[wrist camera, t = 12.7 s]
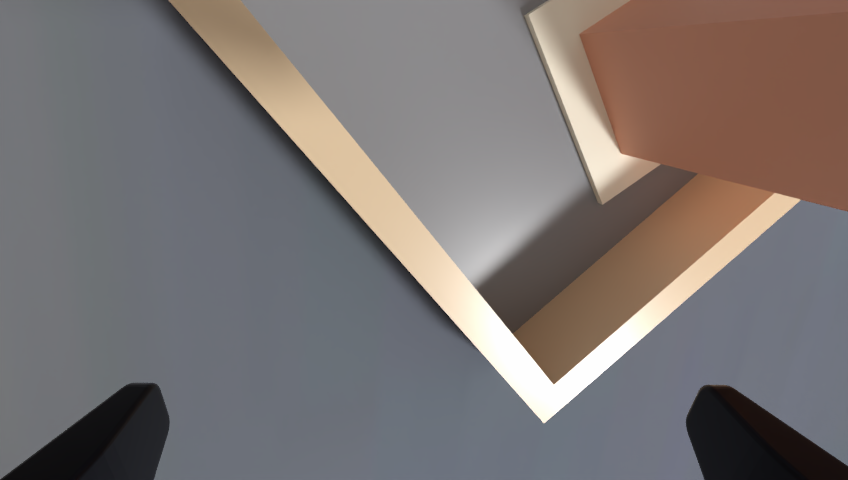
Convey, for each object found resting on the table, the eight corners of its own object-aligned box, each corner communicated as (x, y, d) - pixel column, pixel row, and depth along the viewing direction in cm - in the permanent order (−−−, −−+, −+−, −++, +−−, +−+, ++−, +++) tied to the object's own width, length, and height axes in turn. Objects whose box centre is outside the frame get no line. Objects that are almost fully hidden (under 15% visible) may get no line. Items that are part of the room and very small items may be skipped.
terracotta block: (621, 153, 19) (1080, 270, 9) (579, 34, 17) (1128, -12, 6) (718, 86, 20) (1275, 117, 9) (690, -40, 17) (1386, -201, 7)
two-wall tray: (496, 364, 22) (544, 423, 18) (178, 1, 14) (151, -19, 10) (793, 108, 22) (895, 117, 19) (653, -390, 14) (787, -541, 11)
